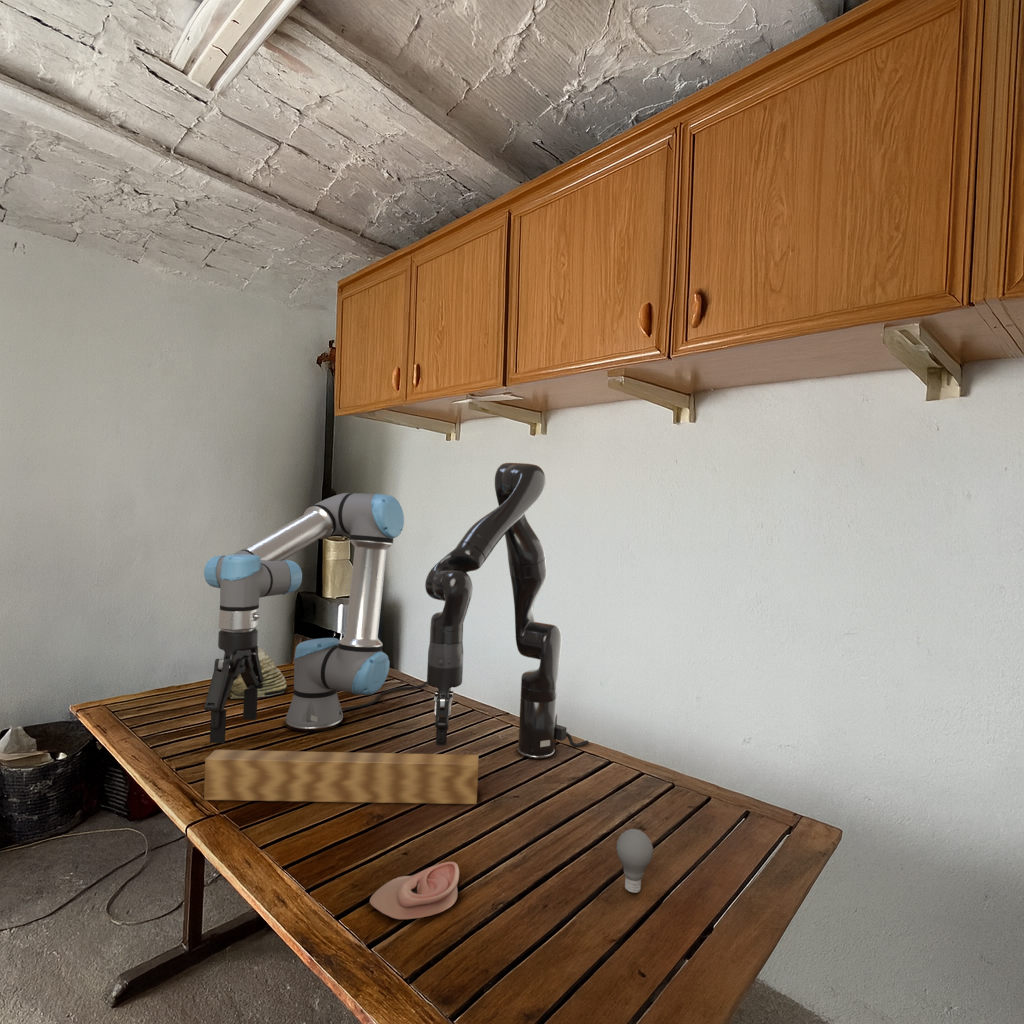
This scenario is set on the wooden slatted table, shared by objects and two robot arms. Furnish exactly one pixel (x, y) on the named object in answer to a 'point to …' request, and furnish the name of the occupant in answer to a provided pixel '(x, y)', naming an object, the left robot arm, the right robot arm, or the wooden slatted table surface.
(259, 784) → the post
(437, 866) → the anatomical model
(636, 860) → the light bulb
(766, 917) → the wooden slatted table surface
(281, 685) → the fossil
